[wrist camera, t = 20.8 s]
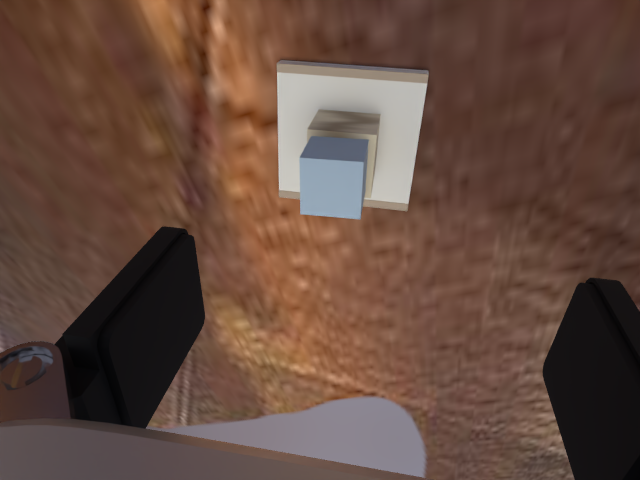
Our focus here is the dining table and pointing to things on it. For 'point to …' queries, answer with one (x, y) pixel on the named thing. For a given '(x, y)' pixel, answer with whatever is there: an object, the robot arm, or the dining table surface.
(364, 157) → the blue cube
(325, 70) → the base board
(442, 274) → the dining table surface
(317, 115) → the maple cube
